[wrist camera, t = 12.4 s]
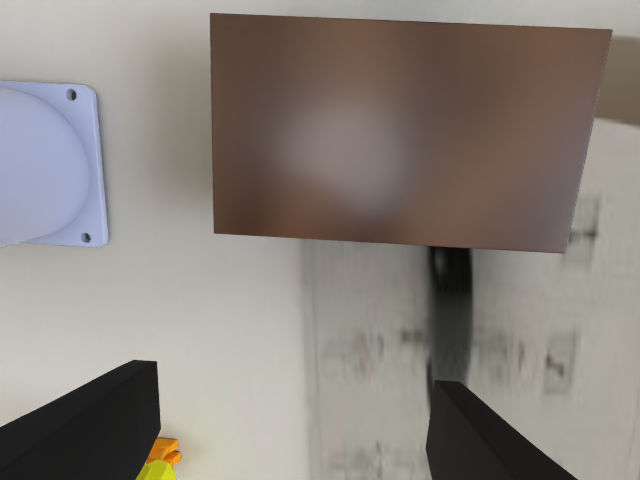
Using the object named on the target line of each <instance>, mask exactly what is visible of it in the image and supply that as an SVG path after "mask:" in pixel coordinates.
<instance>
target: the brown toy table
mask: <svg viewBox="0 0 640 480" xmlns="http://www.w3.org/2000/svg"><path fill="white" fill-rule="evenodd" d="M612 32H613V30H611V29H588V28H564V27H539V26H515V25H490V24H466V23H442V22H417V21H393V20H368V19H344V18H319V17H295V16H270V15H246V14H221V13H210V46H211V102H212V158H213V215H214V233H215V234H232V235H249V236H267V237H284V238H302V239H319V240H337V241H354V242H371V243H389V244H406V245H424V246H441V247H459V248H476V249H494V250H511V251H529V252H546V253H566V249H567V244H568V239H569V235H570V230H571V225H572V220H573V216H574V211H575V206H576V202H577V197H578V192H579V187H580V183H581V178H582V173H583V169H584V164H585V159H586V154H587V150H588V145H589V140H590V136H591V131H592V126H593V121H594V117H595V112H596V107H597V103H598V98H599V93H600V88H601V83H602V79H603V74H604V69H605V64H606V60H607V55H608V51H609V45H610V41H611V37H612Z"/></svg>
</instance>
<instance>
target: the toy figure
mask: <svg viewBox="0 0 640 480" xmlns="http://www.w3.org/2000/svg"><path fill="white" fill-rule="evenodd" d="M177 448H178V444H177V440H174V439H162V438H158V439H156V441H155V443H154V445H153V447H152V449H151V452H150V454H149V456H148V457H149V458H148V460H147V461H146V465H145V464H144V466H143V468H142V470H141V472H140V473H139V475H138V477H137V478H136V480H177V479H176V474H175V470H174V469H173V468H172V466H173V465H175V464H176V463H178V462H179V461H181V459H182V458H181V456H180V453H179V452H172V451H174V450H176V449H177Z"/></svg>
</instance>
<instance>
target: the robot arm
mask: <svg viewBox="0 0 640 480" xmlns="http://www.w3.org/2000/svg"><path fill="white" fill-rule="evenodd" d="M73 91H75V92H76V95H77V96H76V99H75V100H73V99H72V92H73ZM86 233H87V234H88V235H90V238H91V239H90V241H89V240H88V239H87V238H86ZM107 242H108V226H107V214H106V203H105V191H104V180H103V168H102V156H101V145H100V133H99V121H98V110H97V98H96V94H95V92H94V90H93V89H92V88H90V87H89V86H85V85H81V84H62V83H40V82H19V81H0V248H1V247H5V246H9V245H12V244H16V243H27V244H44V245H61V246H79V247H96V248H97V247H101V246H104V245H105V244H107ZM160 430H161V423H160V407H159V390H158V373H157V361H142V360H133V361H130V362H128V363H126V364H123V365H121V366H119V367H117V368H115V369H113V370H111V371H109V372H107V373H105V374H104V375H102V376H100V377H98V378H96V379H94V380H92V381H90V382H88V383H87V384H85V385H83V386H81V387H79V388H77V389H75V390H73V391H71V392H69V393H67V394H66V395H64V396H62V397H60V398H58V399H56V400H54V401H52V402H50V403H48V404H46V405H44V406H42V407H40V408H38V409H36V410H34V411H32V412H30V413H28V414H26V415H24V416H22V417H20V418H18V419H16V420H14V421H12V422H10V423H8V424H6V425H4V426H2V427H0V480H136V478H137V477H138V475H139V473H140V472H141V470H142V468H143V466H144V464H145V462H146V460H147V458H148V456H149V454H150V452H151V449H152V447H153V445H154V443H155V441H156V438H157V436H158V434H159V432H160ZM426 452H427V457H428V462H429V467H430V472H431V476H432V480H578V479H576V478H575V477H574V476H572V475H571V474H570V473H569V472H567V471H566V470H565V469H563V468H562V467H561V466H559V465H558V464H557V463H556V462H554V461H553V460H552V459H550V458H549V457H548V456H547V455H545V454H544V453H543V452H542V451H540V450H539V449H538V448H537V447H536V446H534V445H533V444H532V443H531V442H529V441H528V440H527V439H526V438H525V437H523V436H522V435H521V434H520V433H519V432H518V431H516V430H515V429H514V428H513V427H512V426H510V425H509V424H508V423H507V422H506V421H505V420H503V419H502V418H501V417H500V416H499V415H498V414H497V413H495V412H494V411H493V410H492V409H491V408H490V407H489V406H487V405H486V404H485V403H484V402H483V401H482V400H481V399H479V398H478V397H477V396H476V395H475V394H474V393H473V392H471V391H470V390H469V389H468V388H467V387H465V386H464V385H463V384H462V383H460V382H456V381H441V380H435V384H434V392H433V399H432V406H431V413H430V420H429V428H428V435H427V442H426Z"/></svg>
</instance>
